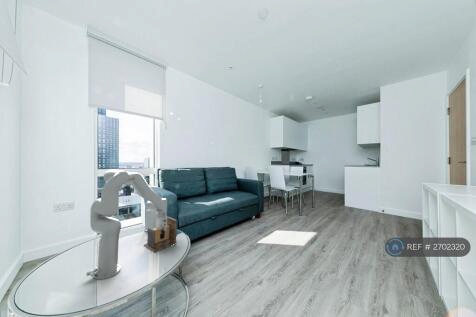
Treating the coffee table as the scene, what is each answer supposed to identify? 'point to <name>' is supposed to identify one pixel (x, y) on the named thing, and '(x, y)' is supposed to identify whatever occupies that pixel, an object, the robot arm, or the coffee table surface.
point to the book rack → (166, 243)
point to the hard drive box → (150, 219)
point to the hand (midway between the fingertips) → (160, 237)
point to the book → (158, 232)
